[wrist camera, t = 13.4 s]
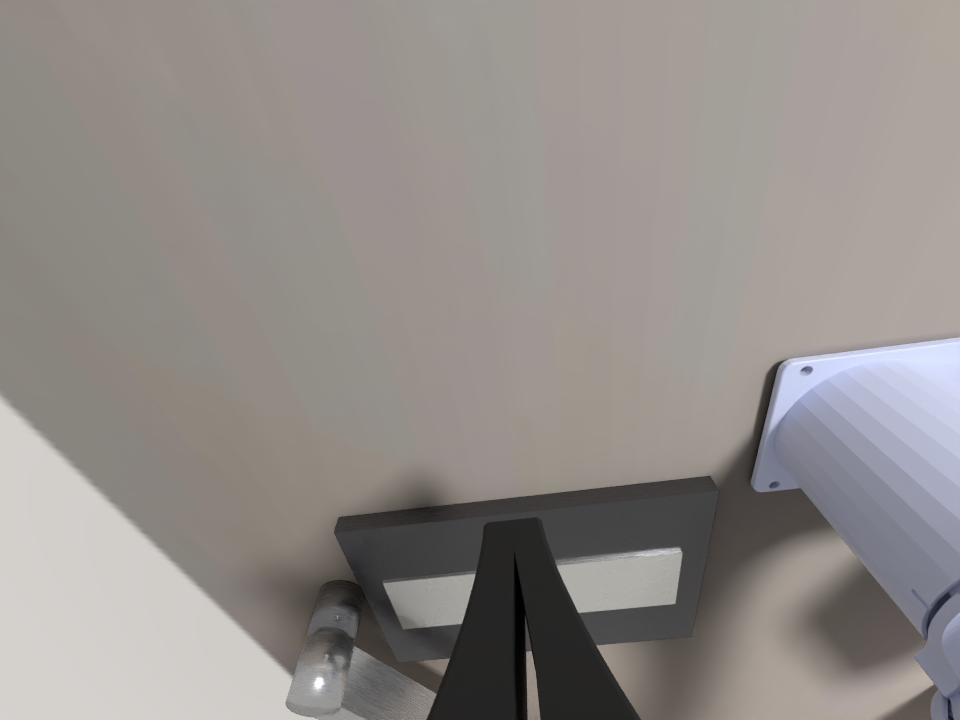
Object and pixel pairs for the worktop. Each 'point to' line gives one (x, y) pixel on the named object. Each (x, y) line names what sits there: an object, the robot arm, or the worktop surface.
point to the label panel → (574, 546)
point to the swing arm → (352, 684)
